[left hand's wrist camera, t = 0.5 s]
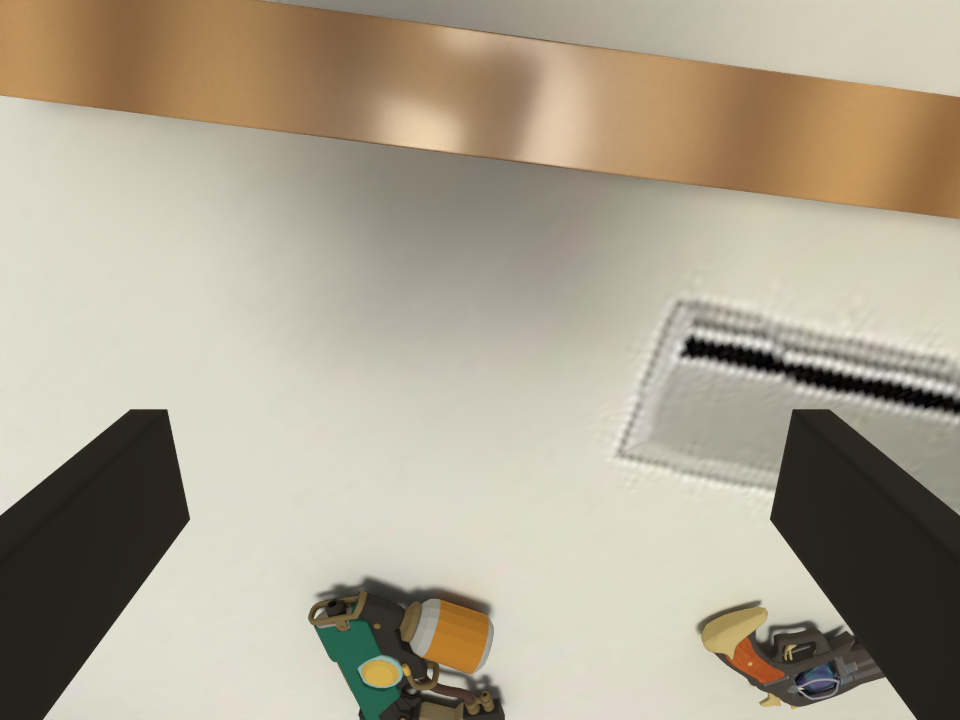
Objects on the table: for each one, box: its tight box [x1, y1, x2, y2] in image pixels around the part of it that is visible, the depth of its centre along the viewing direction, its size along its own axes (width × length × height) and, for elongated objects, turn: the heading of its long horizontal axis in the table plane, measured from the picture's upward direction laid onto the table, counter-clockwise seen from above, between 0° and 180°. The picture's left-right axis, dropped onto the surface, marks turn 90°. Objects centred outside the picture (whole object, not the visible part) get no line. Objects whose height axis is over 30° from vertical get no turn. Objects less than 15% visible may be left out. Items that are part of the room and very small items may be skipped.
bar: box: [0, 0, 960, 219], centre depth 31 cm, size 73×5×8 cm, turn 83°
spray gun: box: [308, 590, 505, 720], centre depth 47 cm, size 4×17×15 cm
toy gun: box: [701, 607, 885, 710], centre depth 47 cm, size 3×19×10 cm
